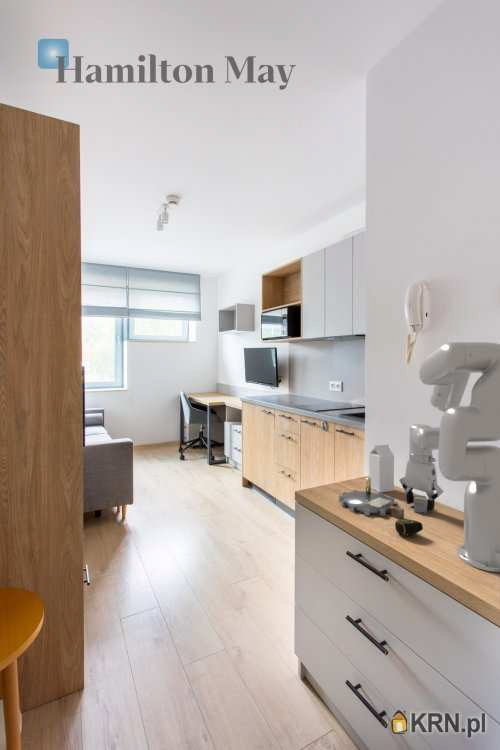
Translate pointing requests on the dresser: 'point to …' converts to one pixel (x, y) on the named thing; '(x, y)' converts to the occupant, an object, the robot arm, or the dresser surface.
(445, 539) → the dresser surface
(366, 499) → the sprocket
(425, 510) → the grey rectangular block
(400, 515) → the taupe wooden cube
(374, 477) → the milk carton
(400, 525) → the tape measure
